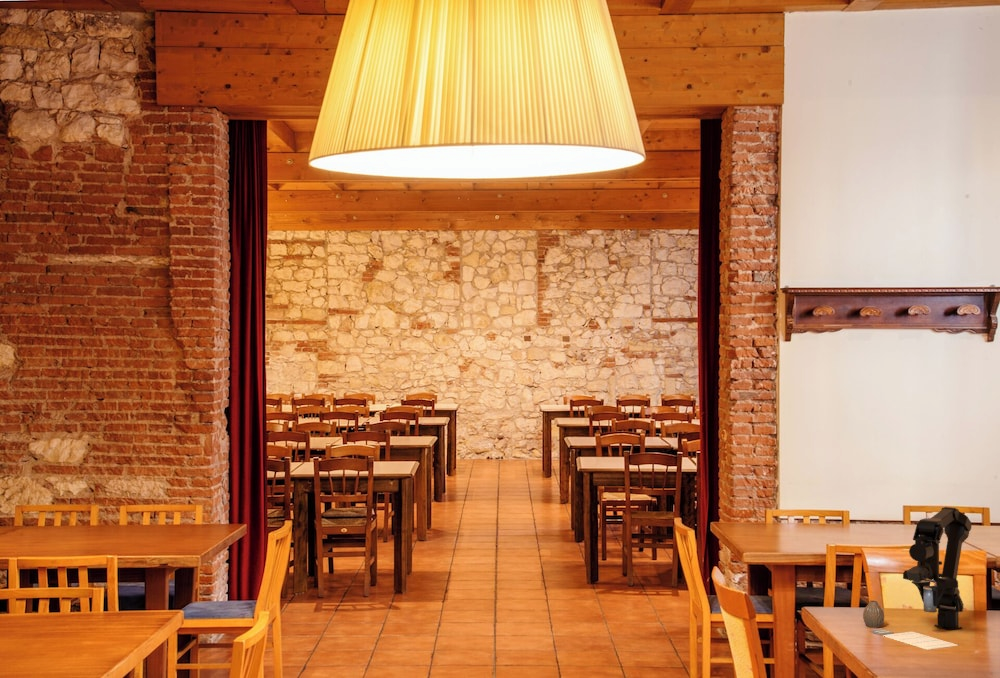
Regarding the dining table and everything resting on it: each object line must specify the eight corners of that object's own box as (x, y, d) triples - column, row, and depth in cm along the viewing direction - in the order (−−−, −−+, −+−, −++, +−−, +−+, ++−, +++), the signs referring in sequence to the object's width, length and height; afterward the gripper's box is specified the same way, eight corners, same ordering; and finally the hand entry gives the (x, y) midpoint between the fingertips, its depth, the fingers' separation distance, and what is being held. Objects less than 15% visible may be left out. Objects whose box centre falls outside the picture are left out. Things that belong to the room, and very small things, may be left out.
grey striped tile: (883, 630, 354) (883, 629, 354) (893, 633, 350) (893, 632, 350) (870, 632, 351) (870, 630, 351) (880, 635, 347) (880, 633, 347)
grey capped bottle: (929, 609, 350) (929, 585, 351) (939, 611, 346) (939, 587, 347) (920, 610, 349) (920, 586, 349) (930, 612, 345) (930, 588, 345)
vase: (885, 629, 355) (885, 603, 356) (864, 628, 357) (864, 602, 357) (882, 624, 362) (882, 599, 362) (861, 623, 363) (861, 598, 364)
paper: (912, 632, 351) (912, 631, 351) (957, 645, 334) (957, 644, 334) (882, 636, 346) (882, 635, 346) (927, 649, 329) (927, 648, 329)
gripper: (890, 554, 353) (890, 601, 353) (933, 563, 336) (934, 612, 336) (915, 553, 358) (915, 598, 357) (959, 561, 341) (959, 609, 340)
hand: (930, 604), depth 348 cm, fingers closed on grey capped bottle, 4 cm apart
